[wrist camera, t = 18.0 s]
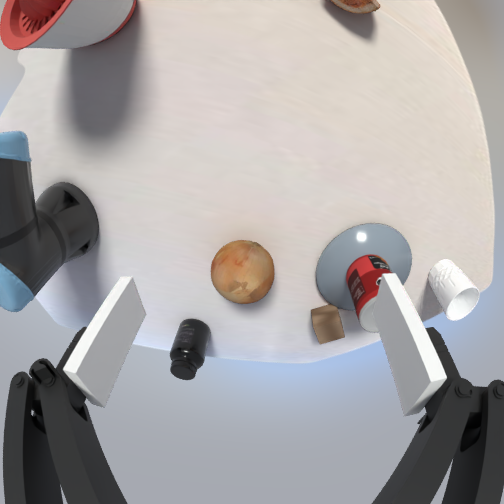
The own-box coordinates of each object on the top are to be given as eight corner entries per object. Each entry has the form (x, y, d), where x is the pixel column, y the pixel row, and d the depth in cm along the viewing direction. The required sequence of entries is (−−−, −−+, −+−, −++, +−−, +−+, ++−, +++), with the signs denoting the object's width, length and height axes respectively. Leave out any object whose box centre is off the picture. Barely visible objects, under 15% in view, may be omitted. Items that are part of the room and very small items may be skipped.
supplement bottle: (216, 336, 57) (206, 382, 47) (189, 341, 59) (177, 384, 49) (201, 314, 54) (188, 361, 44) (174, 320, 56) (157, 364, 46)
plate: (312, 308, 52) (312, 312, 50) (319, 221, 42) (320, 225, 41) (396, 303, 50) (398, 307, 49) (418, 222, 41) (421, 225, 40)
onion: (212, 272, 49) (200, 310, 40) (222, 222, 44) (209, 255, 35) (265, 284, 49) (263, 324, 41) (281, 236, 44) (283, 273, 36)
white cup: (418, 277, 47) (439, 311, 38) (445, 249, 43) (470, 279, 34) (436, 293, 48) (456, 326, 40) (461, 267, 45) (484, 297, 36)
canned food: (393, 273, 45) (415, 314, 35) (357, 296, 48) (372, 340, 39) (375, 243, 42) (399, 284, 33) (336, 270, 45) (350, 315, 36)
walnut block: (317, 325, 54) (319, 344, 50) (310, 309, 52) (313, 328, 48) (340, 319, 53) (344, 337, 49) (335, 302, 51) (340, 320, 46)
